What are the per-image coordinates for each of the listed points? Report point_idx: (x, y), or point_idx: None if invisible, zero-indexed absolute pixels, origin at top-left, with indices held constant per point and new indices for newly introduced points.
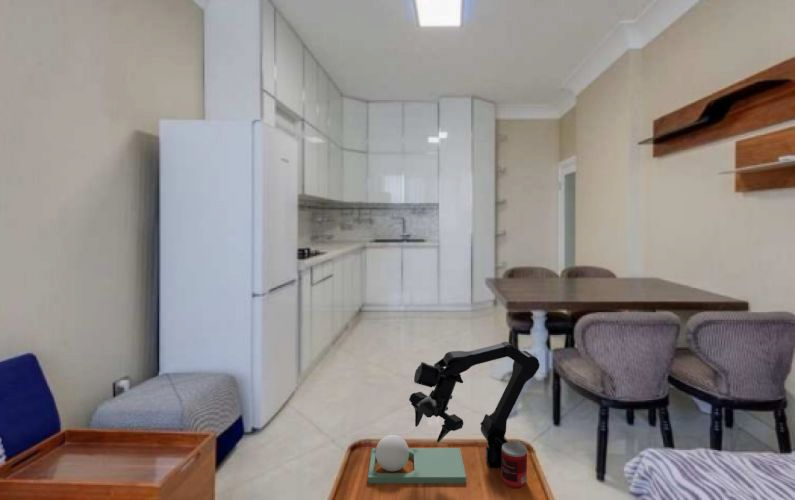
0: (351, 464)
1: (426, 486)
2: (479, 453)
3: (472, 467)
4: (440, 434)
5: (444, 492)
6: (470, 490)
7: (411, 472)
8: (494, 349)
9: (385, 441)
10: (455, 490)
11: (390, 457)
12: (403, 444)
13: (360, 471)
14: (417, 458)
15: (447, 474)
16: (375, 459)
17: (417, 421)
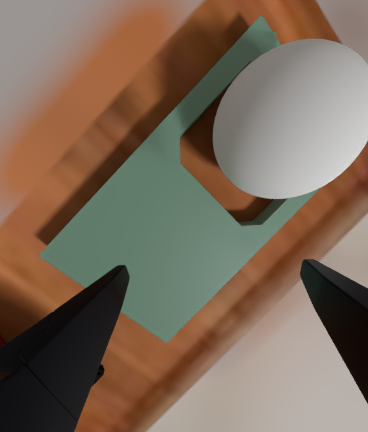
0: None
1: (116, 152)
2: (131, 366)
3: None
4: (73, 309)
5: (57, 169)
6: (14, 232)
7: (177, 146)
8: None
9: (349, 56)
10: (43, 200)
11: (253, 61)
12: (263, 140)
13: None
14: (217, 217)
15: (89, 223)
16: None
17: (332, 288)
